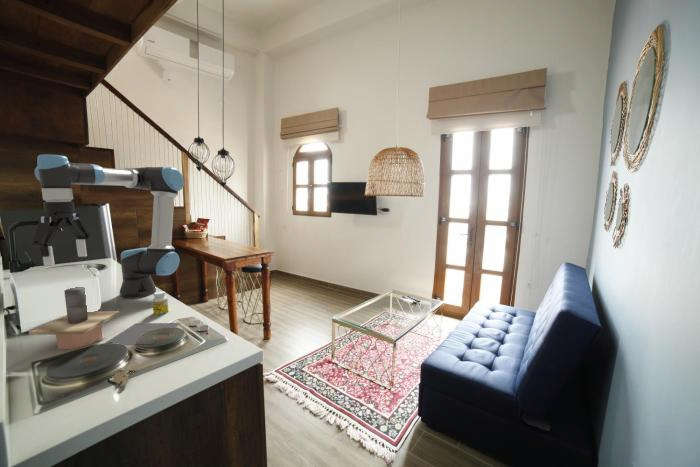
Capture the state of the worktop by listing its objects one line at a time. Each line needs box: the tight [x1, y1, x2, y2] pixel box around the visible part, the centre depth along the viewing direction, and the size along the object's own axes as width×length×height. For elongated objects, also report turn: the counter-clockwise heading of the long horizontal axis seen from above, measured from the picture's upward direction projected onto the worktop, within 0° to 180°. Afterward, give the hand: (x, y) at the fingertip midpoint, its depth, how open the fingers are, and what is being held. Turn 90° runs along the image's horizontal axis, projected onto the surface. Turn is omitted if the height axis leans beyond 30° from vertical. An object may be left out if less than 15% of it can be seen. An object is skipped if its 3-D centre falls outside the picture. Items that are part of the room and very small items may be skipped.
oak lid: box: [29, 287, 121, 336], centre depth 100 cm, size 16×16×12 cm
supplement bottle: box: [152, 290, 169, 316], centre depth 125 cm, size 5×5×10 cm
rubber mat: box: [104, 322, 181, 346], centre depth 107 cm, size 17×17×1 cm
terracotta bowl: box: [55, 324, 103, 350], centre depth 101 cm, size 11×11×7 cm
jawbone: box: [108, 369, 136, 388], centre depth 88 cm, size 9×20×2 cm, turn 170°
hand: (67, 260), depth 105 cm, fingers open, 13 cm apart
